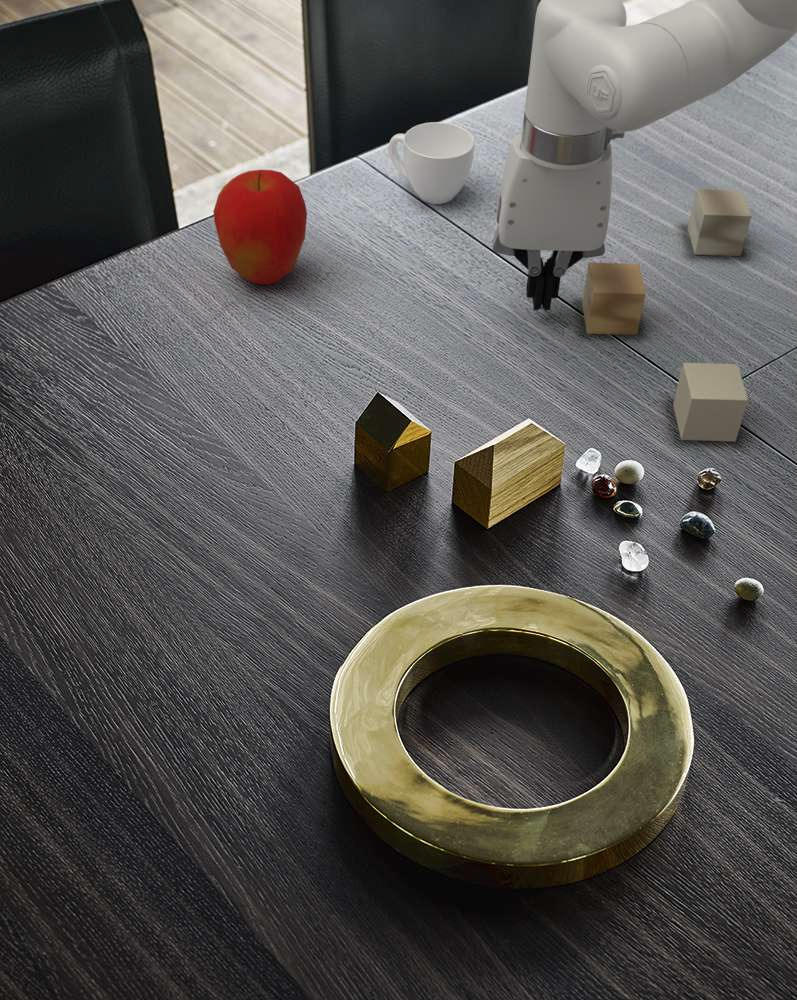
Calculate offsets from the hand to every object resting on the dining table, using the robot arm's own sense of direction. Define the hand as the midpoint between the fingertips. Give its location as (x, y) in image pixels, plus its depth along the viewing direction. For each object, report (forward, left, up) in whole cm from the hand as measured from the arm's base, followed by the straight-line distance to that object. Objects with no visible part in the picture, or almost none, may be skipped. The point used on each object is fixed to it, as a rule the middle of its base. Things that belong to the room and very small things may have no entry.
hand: (540, 301), depth 124 cm
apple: (+28, -6, -2) cm, 29 cm away
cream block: (-14, +15, -2) cm, 21 cm away
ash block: (-20, -14, -2) cm, 25 cm away
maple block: (-7, 0, -2) cm, 7 cm away
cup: (+11, -23, -2) cm, 25 cm away
